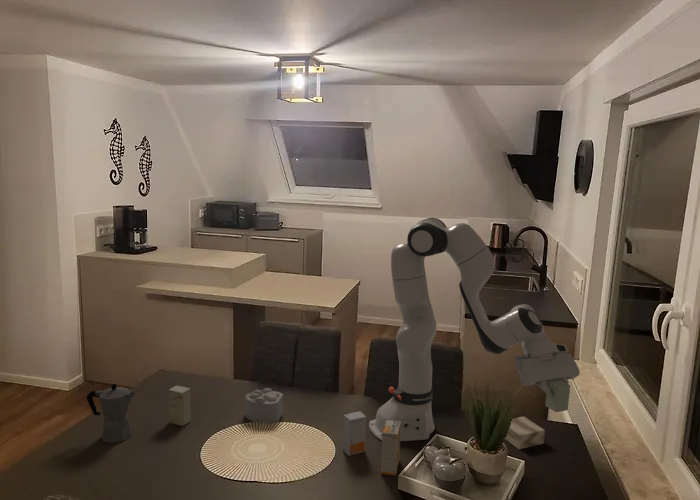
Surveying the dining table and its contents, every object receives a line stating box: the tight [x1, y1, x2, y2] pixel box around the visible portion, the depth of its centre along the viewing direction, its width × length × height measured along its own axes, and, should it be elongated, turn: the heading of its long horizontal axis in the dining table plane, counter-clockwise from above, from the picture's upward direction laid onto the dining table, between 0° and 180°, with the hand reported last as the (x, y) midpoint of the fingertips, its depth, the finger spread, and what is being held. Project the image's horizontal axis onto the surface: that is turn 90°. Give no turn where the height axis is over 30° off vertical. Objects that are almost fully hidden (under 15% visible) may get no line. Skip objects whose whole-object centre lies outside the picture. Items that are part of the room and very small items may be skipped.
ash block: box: [504, 415, 546, 450], centre depth 177 cm, size 10×10×5 cm
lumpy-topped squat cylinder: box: [244, 387, 284, 424], centre depth 190 cm, size 10×13×9 cm
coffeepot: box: [86, 383, 136, 444], centre depth 173 cm, size 15×9×18 cm, turn 92°
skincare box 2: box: [342, 410, 367, 457], centre depth 167 cm, size 6×4×12 cm
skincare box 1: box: [168, 384, 192, 427], centre depth 184 cm, size 6×4×12 cm
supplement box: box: [380, 420, 401, 476], centre depth 158 cm, size 8×5×13 cm, turn 168°
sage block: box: [544, 379, 571, 413], centre depth 162 cm, size 4×4×8 cm
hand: (559, 395), depth 162 cm, fingers closed on sage block, 4 cm apart
